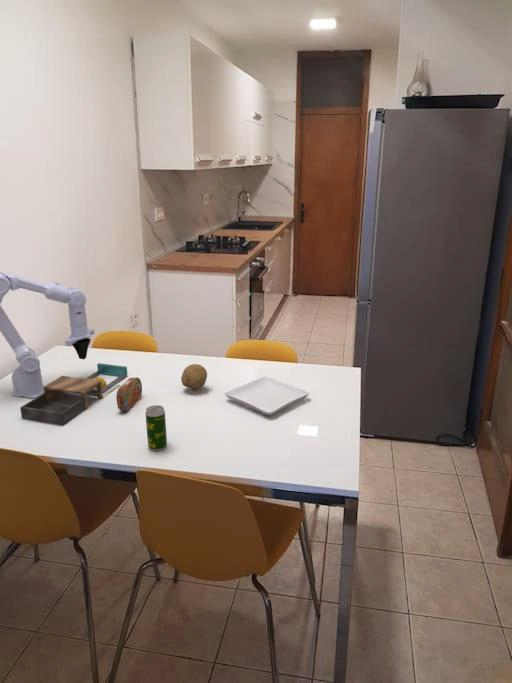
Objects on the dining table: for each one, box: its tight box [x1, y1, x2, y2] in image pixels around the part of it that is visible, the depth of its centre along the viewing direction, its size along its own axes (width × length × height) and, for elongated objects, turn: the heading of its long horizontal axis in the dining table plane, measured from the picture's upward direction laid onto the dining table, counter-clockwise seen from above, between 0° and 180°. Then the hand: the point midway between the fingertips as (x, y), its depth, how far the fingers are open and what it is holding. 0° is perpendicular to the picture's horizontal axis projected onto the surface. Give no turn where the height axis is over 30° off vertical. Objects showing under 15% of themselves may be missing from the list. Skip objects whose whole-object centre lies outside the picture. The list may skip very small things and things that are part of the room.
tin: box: [115, 376, 143, 412], centre depth 178 cm, size 15×3×8 cm, turn 168°
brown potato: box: [180, 363, 208, 392], centre depth 188 cm, size 9×9×10 cm
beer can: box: [144, 404, 168, 452], centre depth 151 cm, size 5×5×12 cm
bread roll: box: [89, 377, 107, 389], centre depth 192 cm, size 8×9×4 cm
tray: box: [19, 375, 121, 426], centre depth 181 cm, size 16×32×6 cm, turn 162°
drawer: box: [84, 362, 128, 396], centre depth 195 cm, size 12×19×4 cm, turn 162°
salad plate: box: [224, 376, 310, 416], centre depth 181 cm, size 21×21×3 cm
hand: (82, 358), depth 194 cm, fingers closed
